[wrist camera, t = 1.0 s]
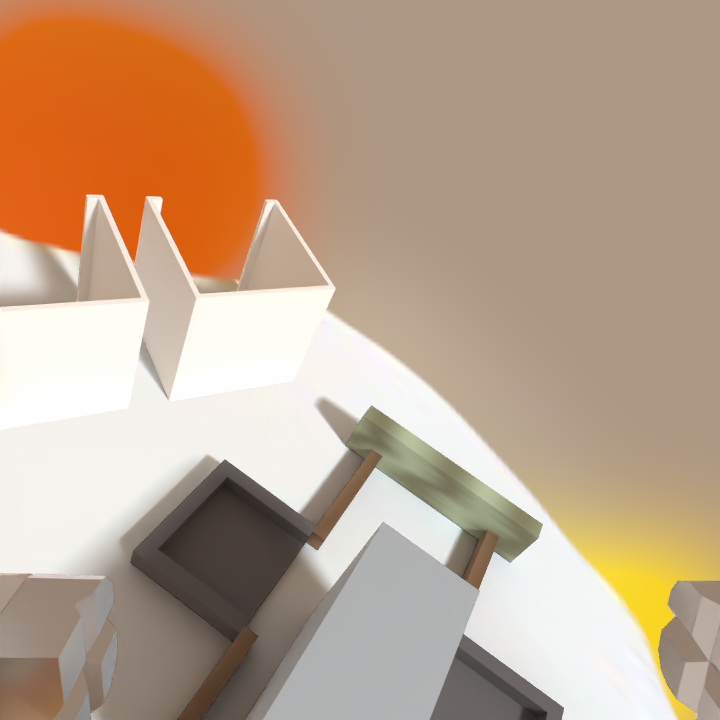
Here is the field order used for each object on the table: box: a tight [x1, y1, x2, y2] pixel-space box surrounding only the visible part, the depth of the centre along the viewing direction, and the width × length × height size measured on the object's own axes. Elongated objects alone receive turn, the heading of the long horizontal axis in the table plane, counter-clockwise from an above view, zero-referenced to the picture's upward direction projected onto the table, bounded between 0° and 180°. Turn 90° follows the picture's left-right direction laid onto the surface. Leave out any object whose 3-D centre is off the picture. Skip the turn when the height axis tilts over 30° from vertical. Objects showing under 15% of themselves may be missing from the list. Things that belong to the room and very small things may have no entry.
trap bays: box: [131, 460, 564, 720], centre depth 39 cm, size 28×9×2 cm, turn 61°
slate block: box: [245, 522, 480, 720], centre depth 31 cm, size 6×14×12 cm, turn 151°
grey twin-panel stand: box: [0, 195, 336, 429], centre depth 46 cm, size 25×11×11 cm, turn 120°
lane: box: [177, 405, 543, 720], centre depth 40 cm, size 16×27×4 cm, turn 151°
